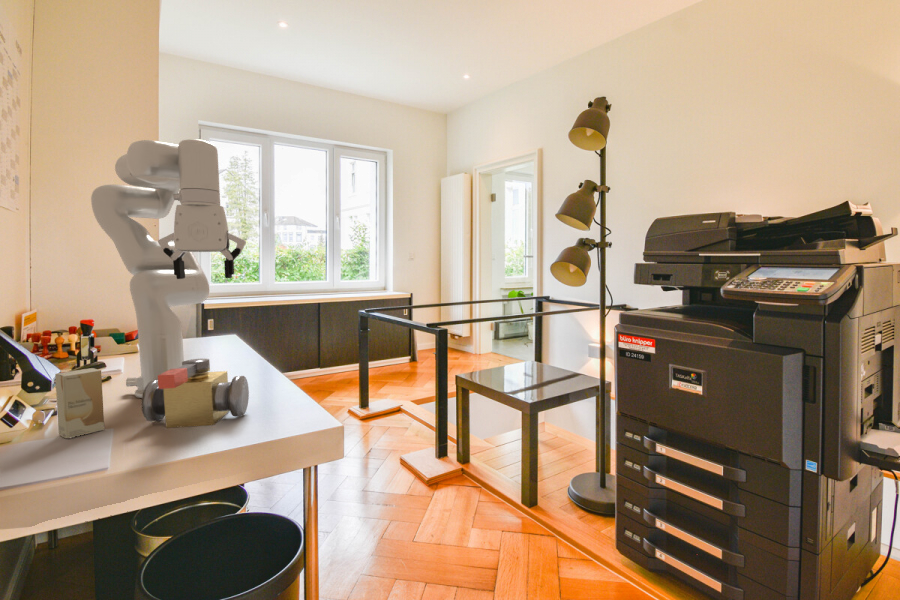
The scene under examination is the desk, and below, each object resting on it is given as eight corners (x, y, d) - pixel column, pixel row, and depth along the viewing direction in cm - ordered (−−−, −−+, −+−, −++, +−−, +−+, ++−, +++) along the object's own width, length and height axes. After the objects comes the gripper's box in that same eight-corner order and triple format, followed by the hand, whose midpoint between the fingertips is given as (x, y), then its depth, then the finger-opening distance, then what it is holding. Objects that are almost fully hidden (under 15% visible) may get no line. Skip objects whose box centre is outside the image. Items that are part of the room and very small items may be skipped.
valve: (142, 429, 89) (138, 381, 88) (165, 414, 98) (161, 371, 97) (236, 423, 91) (233, 377, 90) (250, 409, 100) (247, 367, 99)
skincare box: (66, 440, 84) (61, 376, 83) (58, 435, 86) (52, 373, 85) (107, 429, 89) (102, 369, 89) (97, 425, 92) (92, 366, 91)
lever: (189, 369, 96) (188, 358, 96) (213, 368, 96) (213, 357, 96) (152, 389, 81) (151, 375, 81) (181, 387, 82) (180, 374, 81)
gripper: (148, 196, 92) (154, 279, 93) (239, 198, 96) (243, 278, 97) (163, 201, 99) (168, 278, 100) (247, 203, 103) (250, 277, 104)
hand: (205, 278), depth 99 cm, fingers open, 9 cm apart
